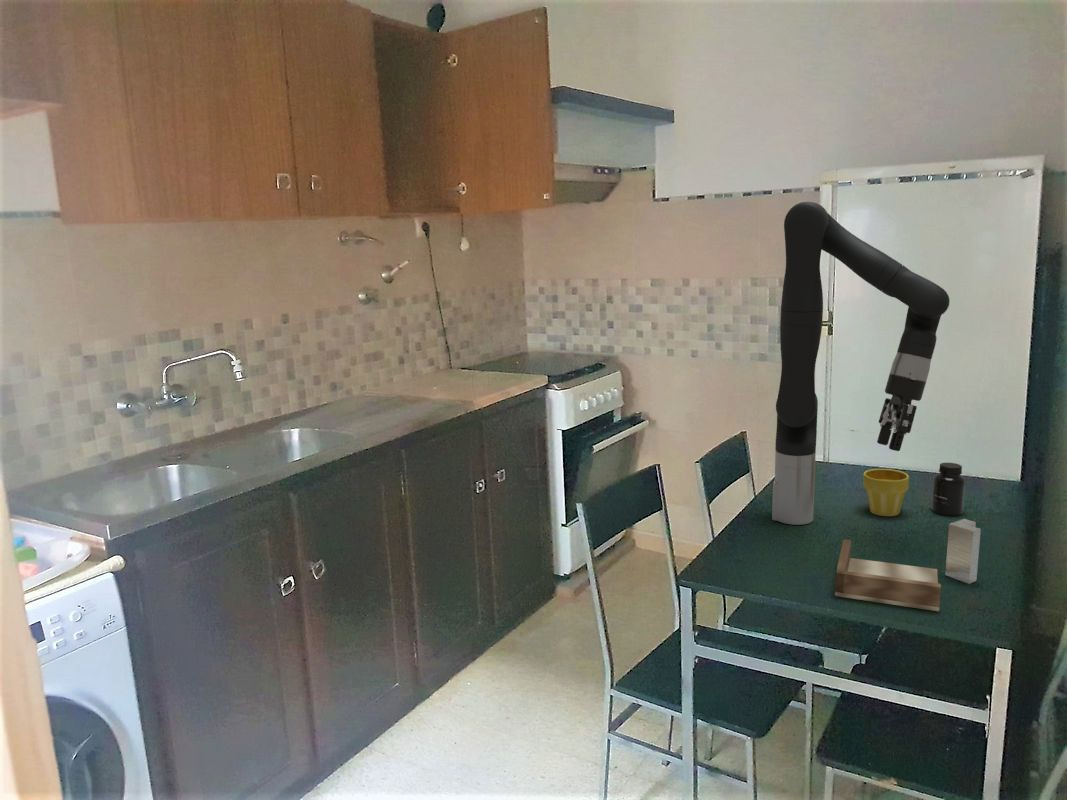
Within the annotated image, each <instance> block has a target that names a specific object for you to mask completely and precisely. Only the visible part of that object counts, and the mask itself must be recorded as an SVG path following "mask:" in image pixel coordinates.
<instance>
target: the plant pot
mask: <svg viewBox="0 0 1067 800" xmlns="http://www.w3.org/2000/svg"><path fill="white" fill-rule="evenodd" d="M862 476H863V477H862V478H863V479H862V483H863V484H862V486H863V487H864V489H865V490H866V495H867V499H868V506H869V511H870V512H871V513H872V514H873V515H876V516H880V517H895V516H898V515H899V514H900V513H901V509H902V505H903V502H904V497H905V495H906V492H907V491H908V490H909V486H910V484H909V483H910V476H909V474H907V473H906V472H904V471H901V470H898V469H891V468H872V469H867V470H865V471H864V472H863V474H862Z"/></svg>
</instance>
